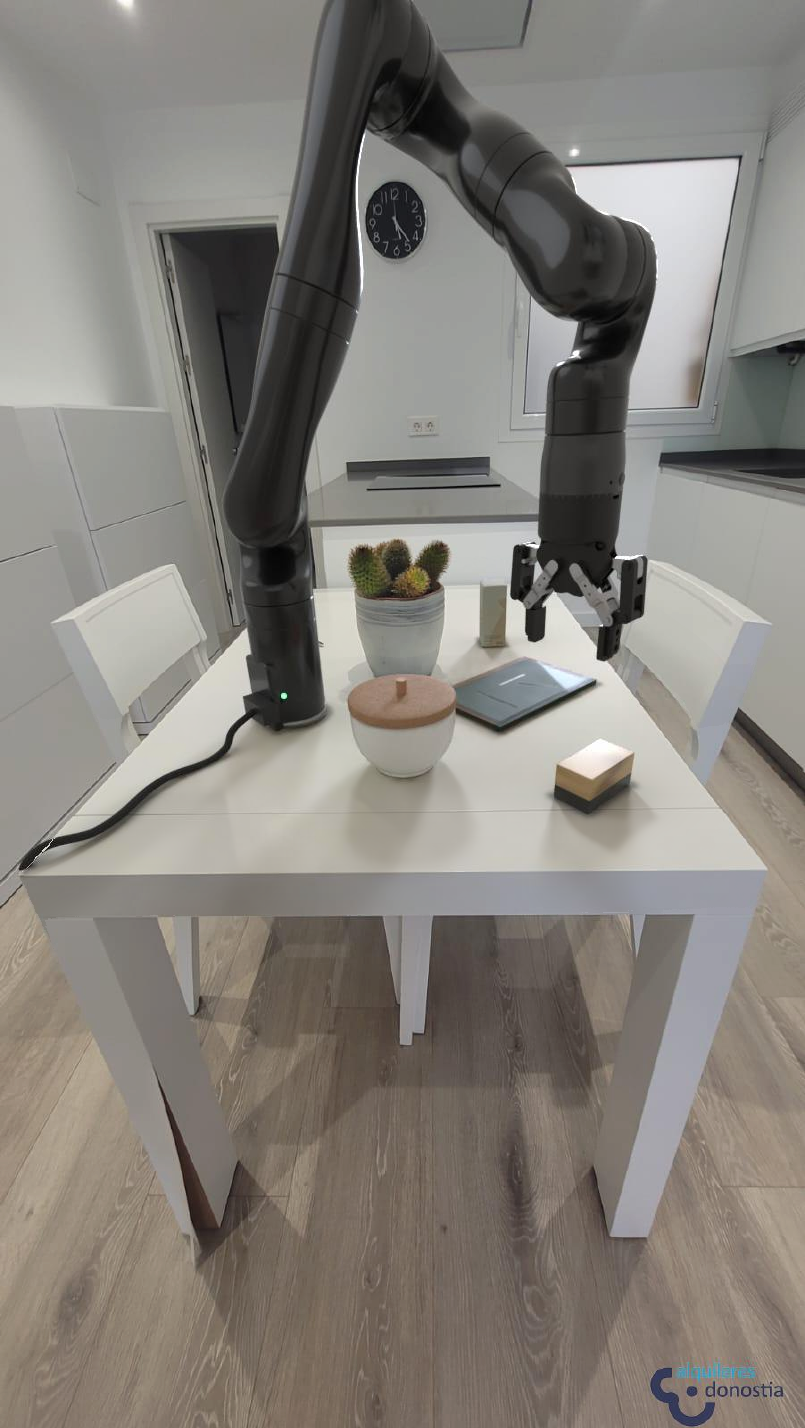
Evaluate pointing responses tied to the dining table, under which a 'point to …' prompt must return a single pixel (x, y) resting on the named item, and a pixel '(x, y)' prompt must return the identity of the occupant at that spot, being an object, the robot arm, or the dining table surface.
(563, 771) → the eraser
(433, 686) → the lidded bowl
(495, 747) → the dining table surface
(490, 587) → the box
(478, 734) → the dining table surface
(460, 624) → the dining table surface
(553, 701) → the chalkboard
